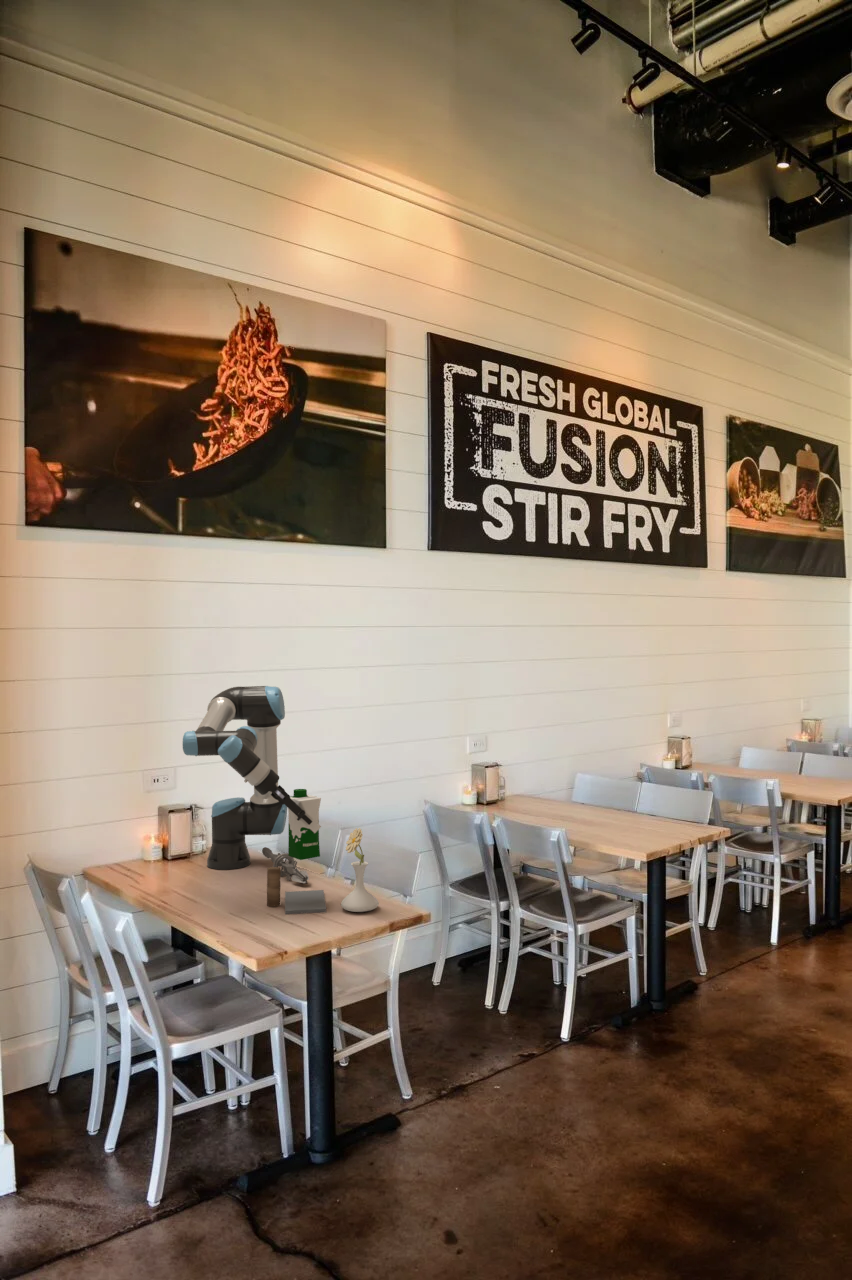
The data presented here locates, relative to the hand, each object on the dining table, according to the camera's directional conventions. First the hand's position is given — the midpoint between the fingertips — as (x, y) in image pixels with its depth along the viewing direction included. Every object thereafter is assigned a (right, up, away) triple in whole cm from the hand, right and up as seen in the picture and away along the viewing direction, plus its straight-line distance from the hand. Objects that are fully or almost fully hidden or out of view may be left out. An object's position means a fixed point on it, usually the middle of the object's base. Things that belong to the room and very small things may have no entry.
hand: (314, 826), depth 276 cm
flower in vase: (+15, -24, -8) cm, 29 cm away
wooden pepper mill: (-12, -23, -2) cm, 26 cm away
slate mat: (-3, -23, 0) cm, 24 cm away
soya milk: (-3, -9, -1) cm, 10 cm away
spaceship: (-14, -24, +31) cm, 42 cm away
